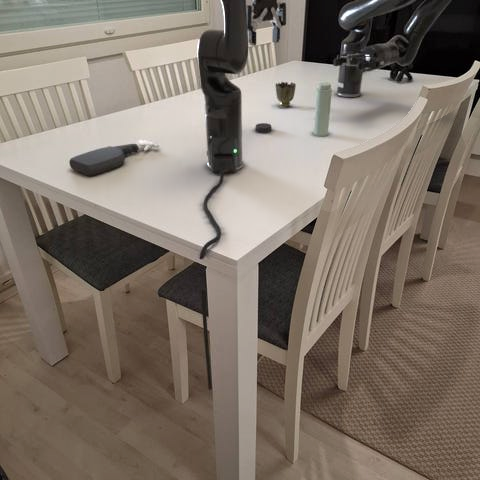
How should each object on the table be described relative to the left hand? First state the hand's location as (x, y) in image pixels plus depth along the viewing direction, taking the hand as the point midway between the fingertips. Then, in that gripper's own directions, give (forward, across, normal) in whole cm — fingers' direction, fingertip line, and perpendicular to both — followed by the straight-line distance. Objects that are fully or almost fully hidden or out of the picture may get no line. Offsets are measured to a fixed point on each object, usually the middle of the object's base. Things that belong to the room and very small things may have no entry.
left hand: (264, 43), depth 131 cm
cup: (+26, +24, +17) cm, 39 cm away
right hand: (+7, +22, -13) cm, 26 cm away
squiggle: (+26, +92, +15) cm, 96 cm away
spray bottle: (+26, -48, +6) cm, 55 cm away
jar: (+26, +12, -14) cm, 32 cm away
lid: (+25, 0, 0) cm, 25 cm away
